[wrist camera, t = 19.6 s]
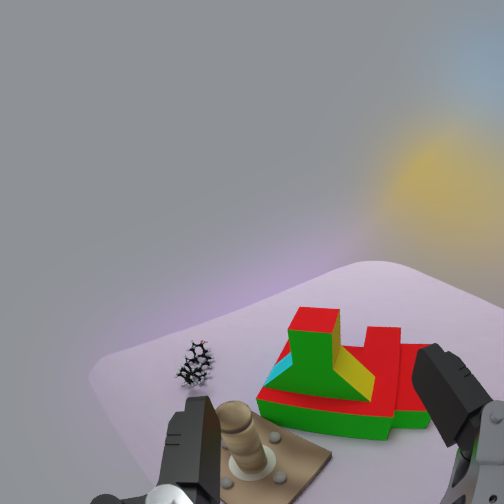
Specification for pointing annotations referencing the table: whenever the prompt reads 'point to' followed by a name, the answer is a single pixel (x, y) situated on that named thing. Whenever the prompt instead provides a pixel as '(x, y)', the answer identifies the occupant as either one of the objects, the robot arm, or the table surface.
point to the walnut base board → (272, 468)
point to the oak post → (241, 436)
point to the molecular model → (192, 372)
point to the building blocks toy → (342, 381)
